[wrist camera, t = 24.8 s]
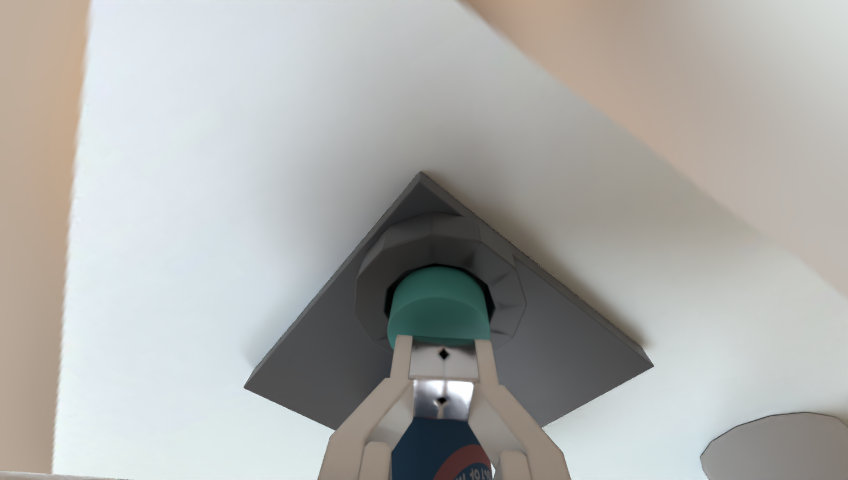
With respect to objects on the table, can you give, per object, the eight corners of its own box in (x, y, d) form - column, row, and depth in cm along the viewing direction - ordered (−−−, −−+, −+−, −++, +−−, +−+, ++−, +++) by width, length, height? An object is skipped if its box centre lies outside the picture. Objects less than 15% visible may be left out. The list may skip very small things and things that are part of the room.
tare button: (375, 306, 13) (366, 339, 12) (432, 248, 12) (431, 278, 10) (443, 348, 14) (443, 383, 13) (504, 299, 13) (512, 333, 11)
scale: (253, 370, 19) (224, 419, 17) (424, 165, 13) (420, 194, 10) (443, 462, 24) (444, 512, 21) (646, 345, 17) (683, 397, 14)
